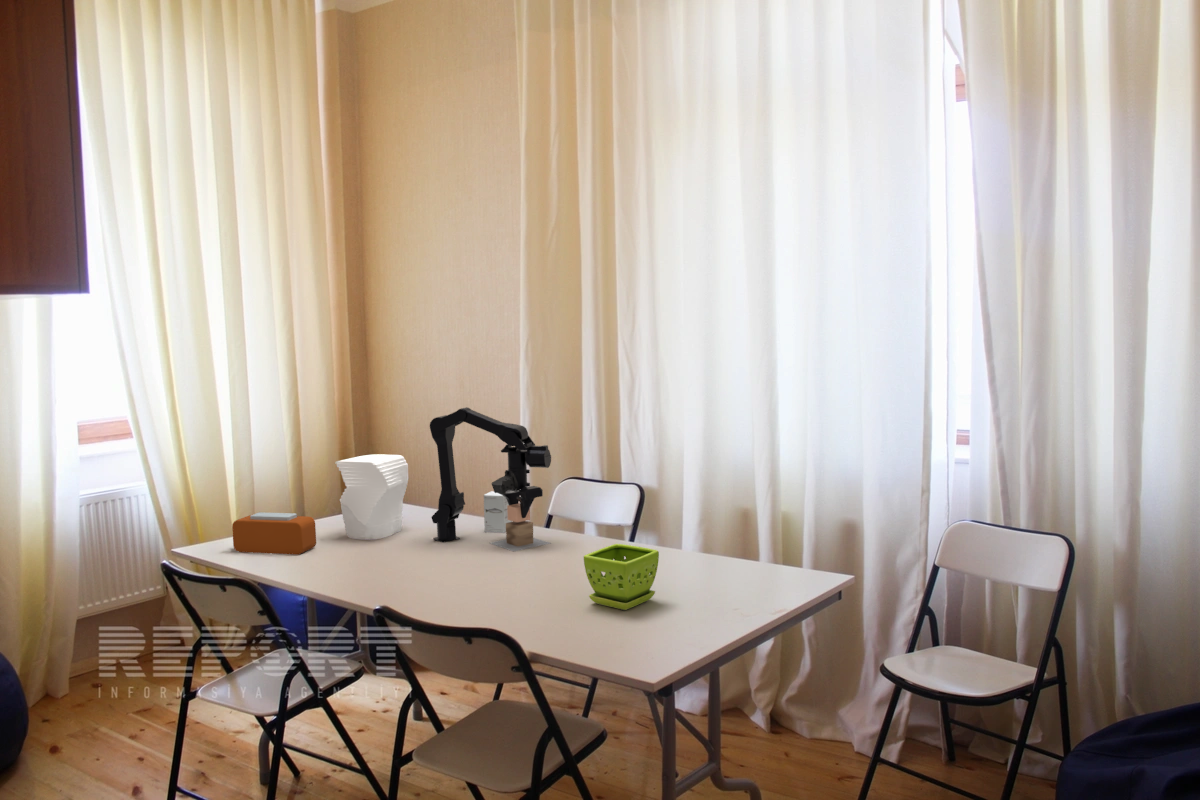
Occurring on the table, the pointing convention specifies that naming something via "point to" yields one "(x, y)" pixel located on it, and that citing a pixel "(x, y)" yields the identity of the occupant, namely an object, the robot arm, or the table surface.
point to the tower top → (519, 528)
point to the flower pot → (621, 575)
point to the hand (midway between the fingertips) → (518, 516)
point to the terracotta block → (516, 513)
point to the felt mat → (514, 548)
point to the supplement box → (495, 512)
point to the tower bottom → (519, 539)
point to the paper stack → (373, 495)
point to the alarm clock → (274, 533)
